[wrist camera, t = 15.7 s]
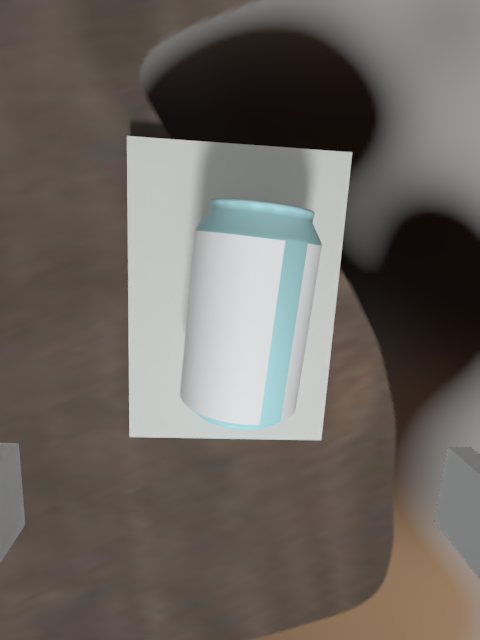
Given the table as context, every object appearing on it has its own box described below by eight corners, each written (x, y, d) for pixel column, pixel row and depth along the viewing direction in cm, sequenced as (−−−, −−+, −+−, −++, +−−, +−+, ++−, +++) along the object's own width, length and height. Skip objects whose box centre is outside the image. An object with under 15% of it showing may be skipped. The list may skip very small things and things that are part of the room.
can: (164, 389, 24) (180, 197, 22) (257, 381, 28) (279, 215, 25) (206, 446, 18) (234, 190, 16) (318, 427, 22) (355, 214, 19)
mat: (317, 433, 29) (321, 440, 28) (132, 429, 28) (129, 436, 27) (346, 155, 25) (352, 152, 24) (130, 140, 24) (126, 135, 23)
